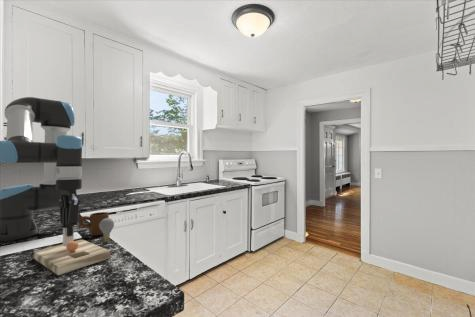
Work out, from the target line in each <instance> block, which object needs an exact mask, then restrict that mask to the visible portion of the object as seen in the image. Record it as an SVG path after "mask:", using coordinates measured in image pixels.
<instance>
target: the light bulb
mask: <svg viewBox="0 0 475 317" xmlns="http://www.w3.org/2000/svg"><path fill="white" fill-rule="evenodd" d="M114 227H115V222H114V220H113V219H112V218H105V219H103V220H102V221H101V222H100V224H99V228H100V230H101V231H102V233H103V235H102V236H103V242H104V243H108V242H110V236H111V235H110V234H111V232H112V230H113V229H114Z"/></svg>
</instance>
